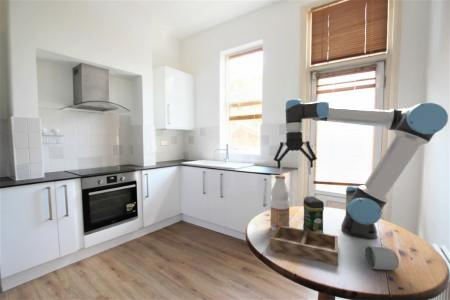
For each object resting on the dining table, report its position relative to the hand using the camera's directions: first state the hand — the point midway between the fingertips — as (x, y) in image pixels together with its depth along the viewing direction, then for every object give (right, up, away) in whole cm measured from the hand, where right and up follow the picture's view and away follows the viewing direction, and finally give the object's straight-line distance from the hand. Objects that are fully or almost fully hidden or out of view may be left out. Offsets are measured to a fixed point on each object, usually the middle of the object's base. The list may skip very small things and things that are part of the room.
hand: (295, 174), depth 108 cm
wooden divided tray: (-1, -30, -15) cm, 34 cm away
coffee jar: (+8, -30, -3) cm, 31 cm away
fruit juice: (-6, -29, +5) cm, 30 cm away
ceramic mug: (+22, -31, -28) cm, 47 cm away
